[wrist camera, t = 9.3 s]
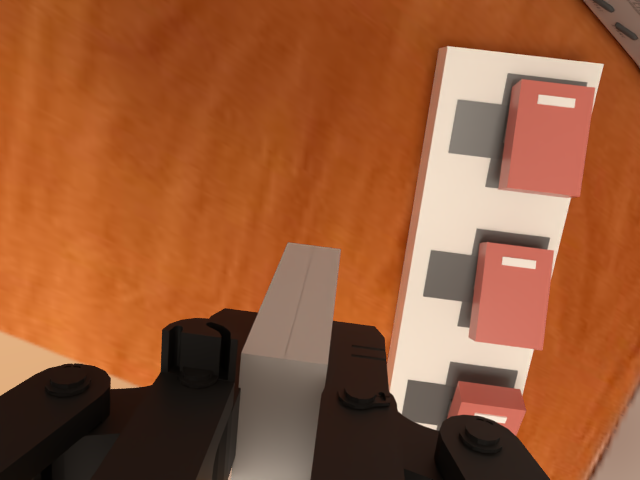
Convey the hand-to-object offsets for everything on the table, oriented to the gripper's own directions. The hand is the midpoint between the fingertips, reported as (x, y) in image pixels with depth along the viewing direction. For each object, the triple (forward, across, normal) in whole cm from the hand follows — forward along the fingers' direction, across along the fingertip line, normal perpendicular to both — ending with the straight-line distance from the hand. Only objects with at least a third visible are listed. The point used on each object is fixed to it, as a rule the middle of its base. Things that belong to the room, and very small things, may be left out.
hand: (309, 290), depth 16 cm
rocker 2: (+18, +12, -6) cm, 22 cm away
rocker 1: (+18, +12, +4) cm, 22 cm away
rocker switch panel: (+24, +10, -6) cm, 27 cm away
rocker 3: (+18, +12, -16) cm, 27 cm away
